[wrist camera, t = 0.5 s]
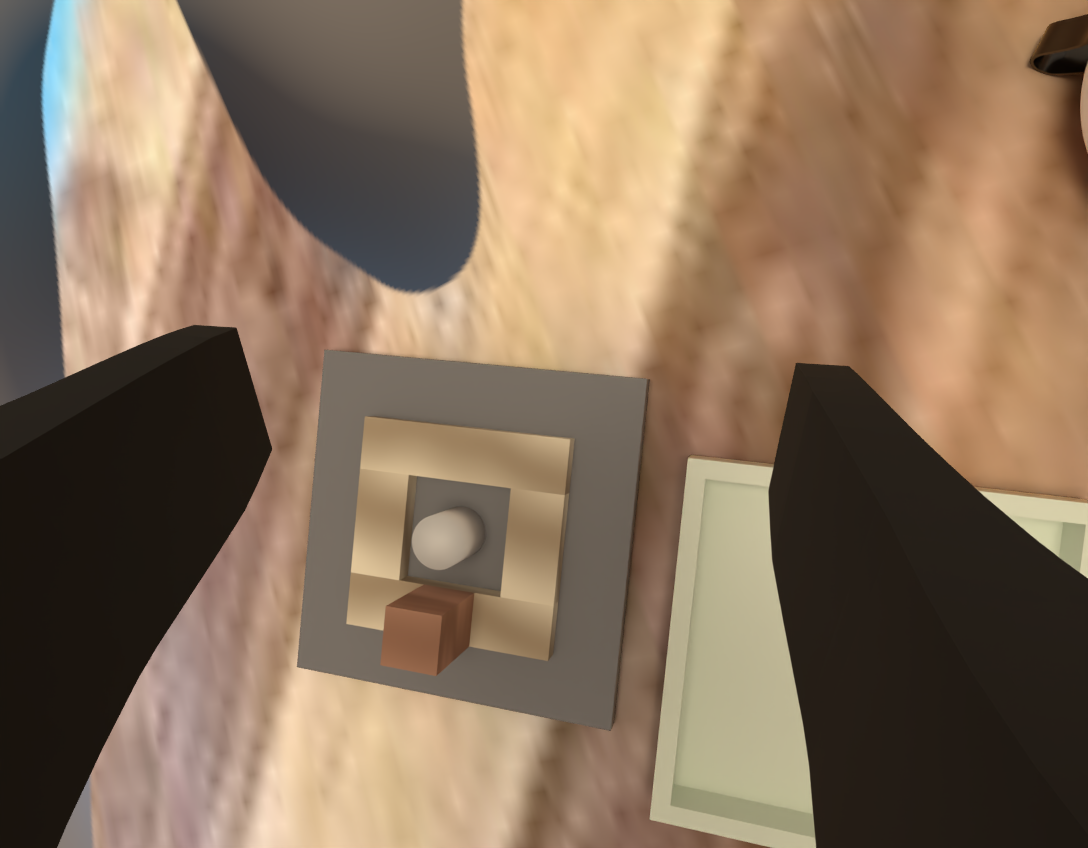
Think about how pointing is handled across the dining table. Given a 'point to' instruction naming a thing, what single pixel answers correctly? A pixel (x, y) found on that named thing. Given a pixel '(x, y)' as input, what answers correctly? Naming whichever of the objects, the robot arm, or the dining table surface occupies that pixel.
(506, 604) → the tan square frame
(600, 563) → the stake board
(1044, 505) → the sage tray
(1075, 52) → the coffee press
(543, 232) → the dining table surface
